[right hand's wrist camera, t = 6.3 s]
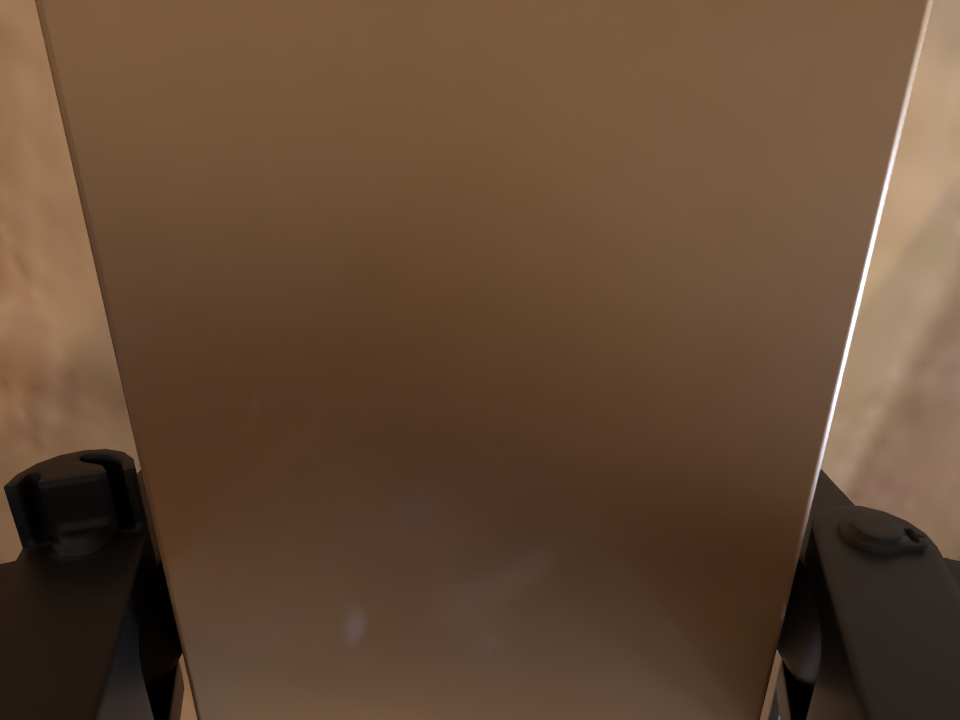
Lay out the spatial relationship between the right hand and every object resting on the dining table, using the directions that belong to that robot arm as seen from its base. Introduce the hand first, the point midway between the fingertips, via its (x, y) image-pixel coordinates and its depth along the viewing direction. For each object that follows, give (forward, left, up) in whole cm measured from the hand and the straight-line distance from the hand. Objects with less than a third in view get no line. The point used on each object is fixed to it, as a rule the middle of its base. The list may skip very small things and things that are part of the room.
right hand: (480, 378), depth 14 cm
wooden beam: (+12, -22, -1) cm, 25 cm away
